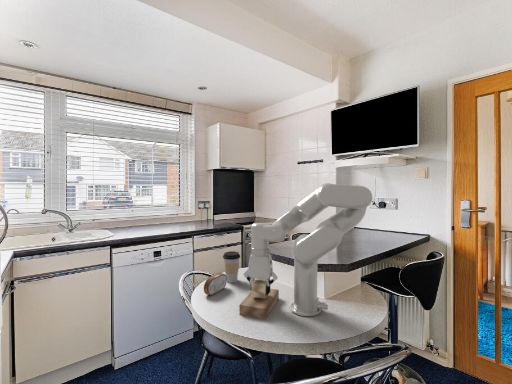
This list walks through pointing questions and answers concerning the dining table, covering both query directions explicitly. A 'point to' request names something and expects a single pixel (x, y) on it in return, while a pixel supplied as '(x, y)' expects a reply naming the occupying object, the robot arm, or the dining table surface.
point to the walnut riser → (259, 305)
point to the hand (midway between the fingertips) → (260, 292)
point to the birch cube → (258, 288)
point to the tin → (215, 284)
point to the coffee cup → (231, 265)
